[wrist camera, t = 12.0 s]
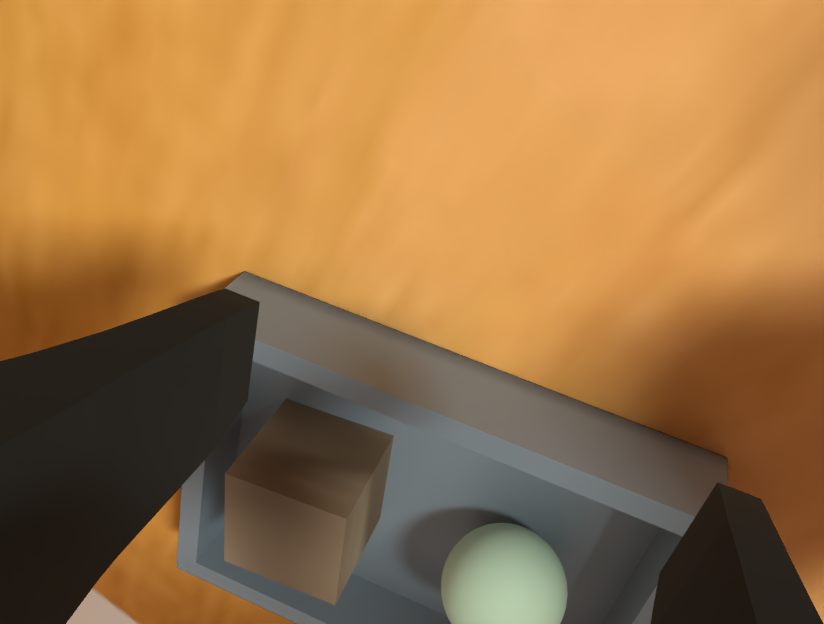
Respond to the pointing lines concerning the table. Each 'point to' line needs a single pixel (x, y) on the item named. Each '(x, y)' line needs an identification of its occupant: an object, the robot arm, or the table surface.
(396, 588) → the serving tray
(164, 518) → the table surface
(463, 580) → the green ball
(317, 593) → the walnut cube
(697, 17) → the table surface
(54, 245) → the table surface
